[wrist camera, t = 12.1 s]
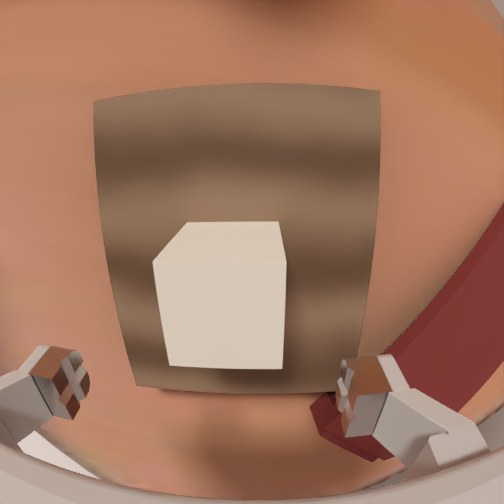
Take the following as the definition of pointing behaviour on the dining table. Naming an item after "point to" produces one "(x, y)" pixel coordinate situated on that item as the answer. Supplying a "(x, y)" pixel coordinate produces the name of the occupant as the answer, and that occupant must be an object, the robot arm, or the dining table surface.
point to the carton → (443, 342)
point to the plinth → (244, 213)
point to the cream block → (223, 295)
